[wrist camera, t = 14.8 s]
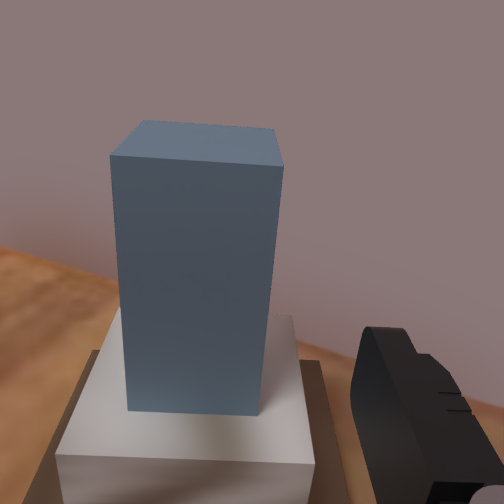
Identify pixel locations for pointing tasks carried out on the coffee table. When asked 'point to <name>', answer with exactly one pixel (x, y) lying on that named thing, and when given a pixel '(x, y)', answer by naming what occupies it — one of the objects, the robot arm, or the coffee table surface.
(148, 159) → the slate brick
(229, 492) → the tower base
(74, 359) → the coffee table surface
